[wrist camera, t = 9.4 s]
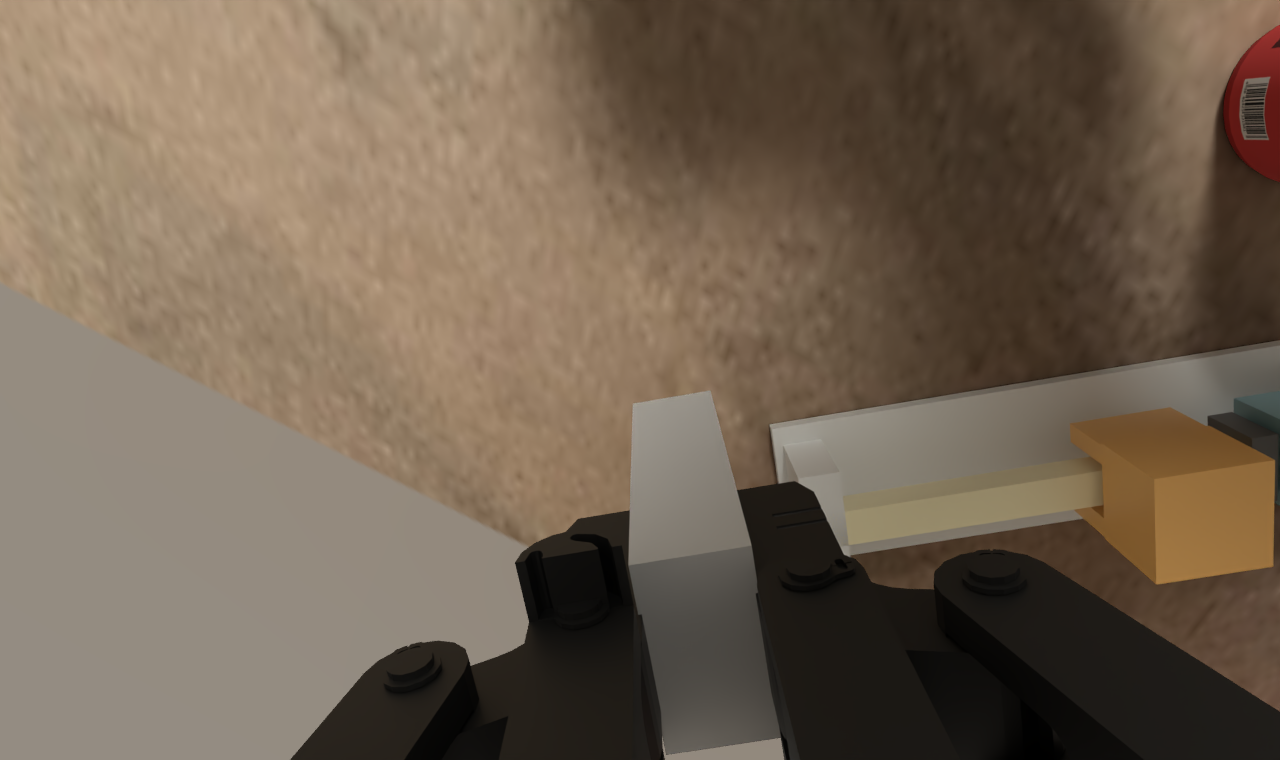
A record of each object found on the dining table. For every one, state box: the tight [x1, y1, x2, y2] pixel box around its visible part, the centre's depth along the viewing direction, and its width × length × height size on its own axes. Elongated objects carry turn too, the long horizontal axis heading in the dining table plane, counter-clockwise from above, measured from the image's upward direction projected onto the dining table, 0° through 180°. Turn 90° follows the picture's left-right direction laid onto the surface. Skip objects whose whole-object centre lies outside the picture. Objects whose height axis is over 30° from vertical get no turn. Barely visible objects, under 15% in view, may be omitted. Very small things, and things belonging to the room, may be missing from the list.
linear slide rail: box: [769, 340, 1280, 557], centre depth 45 cm, size 8×29×7 cm, turn 100°
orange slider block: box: [1070, 407, 1275, 585], centre depth 42 cm, size 5×5×8 cm
